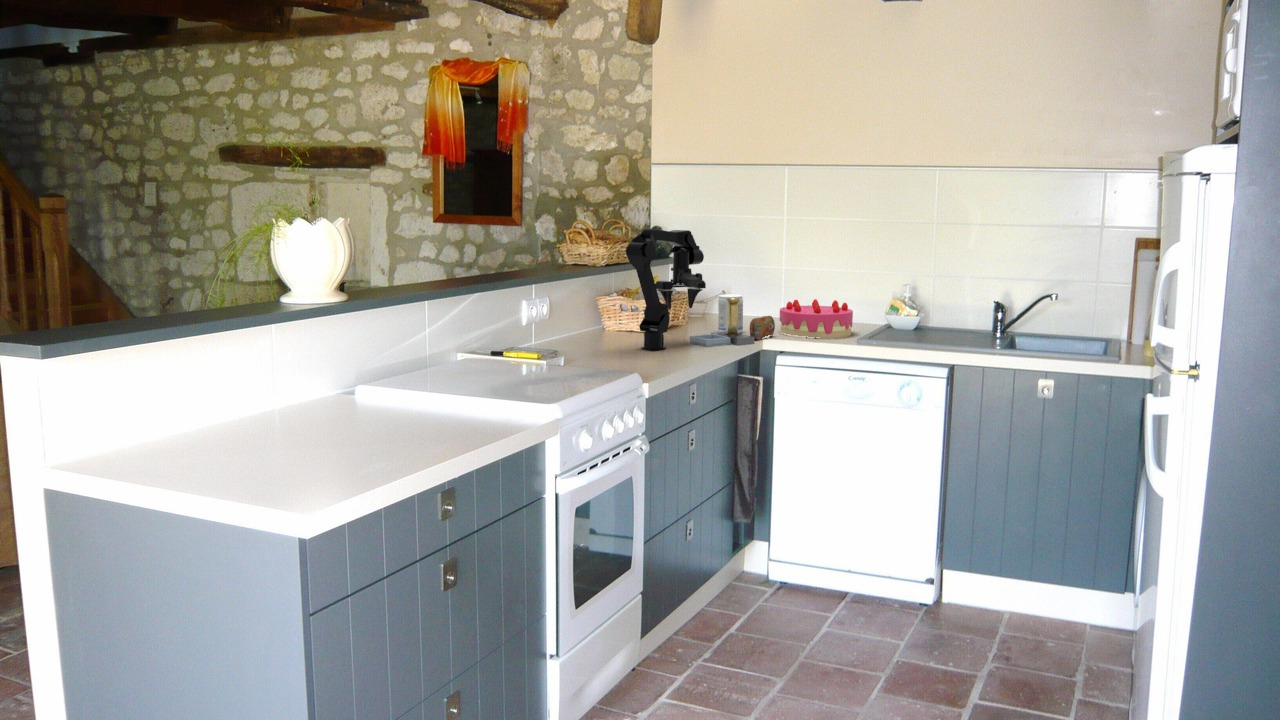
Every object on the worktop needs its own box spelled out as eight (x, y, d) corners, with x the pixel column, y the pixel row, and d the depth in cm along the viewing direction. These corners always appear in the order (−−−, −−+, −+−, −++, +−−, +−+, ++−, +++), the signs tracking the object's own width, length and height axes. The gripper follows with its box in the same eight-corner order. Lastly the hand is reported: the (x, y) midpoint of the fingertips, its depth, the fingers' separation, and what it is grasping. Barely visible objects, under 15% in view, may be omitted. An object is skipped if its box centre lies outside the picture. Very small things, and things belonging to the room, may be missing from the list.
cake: (813, 327, 410) (814, 296, 408) (867, 335, 388) (868, 303, 386) (764, 332, 393) (765, 301, 391) (817, 341, 371) (818, 308, 369)
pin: (732, 342, 366) (733, 299, 363) (723, 341, 370) (723, 298, 367) (741, 341, 369) (742, 298, 367) (732, 340, 373) (732, 297, 370)
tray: (706, 346, 357) (706, 339, 357) (689, 342, 366) (689, 336, 366) (730, 344, 363) (730, 337, 362) (713, 340, 371) (713, 333, 371)
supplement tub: (743, 331, 396) (744, 294, 393) (741, 334, 386) (742, 296, 384) (719, 330, 397) (719, 293, 395) (716, 334, 388) (717, 296, 386)
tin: (754, 341, 370) (755, 318, 369) (747, 340, 372) (748, 318, 371) (775, 336, 382) (775, 314, 381) (768, 336, 384) (768, 314, 383)
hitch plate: (736, 345, 361) (737, 338, 360) (710, 339, 374) (710, 332, 374) (754, 343, 365) (754, 336, 365) (728, 337, 378) (728, 331, 378)
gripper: (672, 267, 347) (671, 312, 350) (715, 266, 357) (714, 309, 360) (654, 265, 357) (653, 309, 359) (697, 264, 367) (696, 306, 369)
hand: (680, 308), depth 362 cm, fingers open, 9 cm apart
